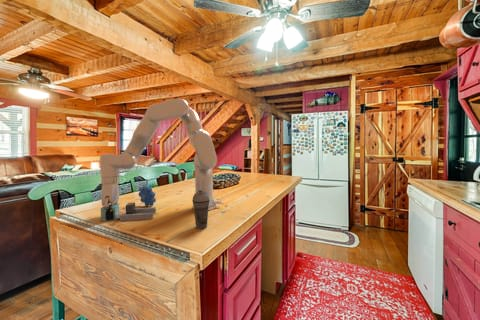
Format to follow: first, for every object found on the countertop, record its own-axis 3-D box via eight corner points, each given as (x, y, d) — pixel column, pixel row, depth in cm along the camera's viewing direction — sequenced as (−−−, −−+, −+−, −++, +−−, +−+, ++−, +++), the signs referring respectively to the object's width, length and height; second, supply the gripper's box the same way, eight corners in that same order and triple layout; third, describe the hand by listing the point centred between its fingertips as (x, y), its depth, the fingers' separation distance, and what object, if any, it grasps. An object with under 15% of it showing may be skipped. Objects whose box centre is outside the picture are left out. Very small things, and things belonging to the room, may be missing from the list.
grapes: (133, 207, 127) (132, 185, 126) (142, 204, 134) (141, 183, 133) (150, 209, 123) (149, 187, 122) (158, 205, 130) (158, 185, 129)
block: (119, 216, 112) (118, 204, 111) (115, 220, 106) (114, 207, 105) (105, 217, 110) (105, 204, 110) (101, 221, 105) (100, 208, 104)
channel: (156, 212, 118) (155, 207, 117) (152, 218, 107) (152, 213, 107) (126, 214, 115) (126, 209, 114) (120, 221, 104) (120, 215, 104)
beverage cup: (193, 224, 100) (192, 179, 98) (210, 223, 101) (209, 178, 99) (191, 230, 93) (190, 182, 91) (209, 230, 93) (209, 181, 92)
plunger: (135, 214, 113) (135, 202, 112) (133, 217, 108) (132, 205, 108) (119, 215, 111) (118, 203, 111) (115, 218, 106) (115, 206, 106)
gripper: (108, 177, 115) (109, 212, 116) (94, 183, 98) (96, 224, 99) (124, 177, 116) (125, 211, 118) (113, 182, 99) (115, 223, 101)
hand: (112, 217), depth 108 cm, fingers closed on block, 6 cm apart
